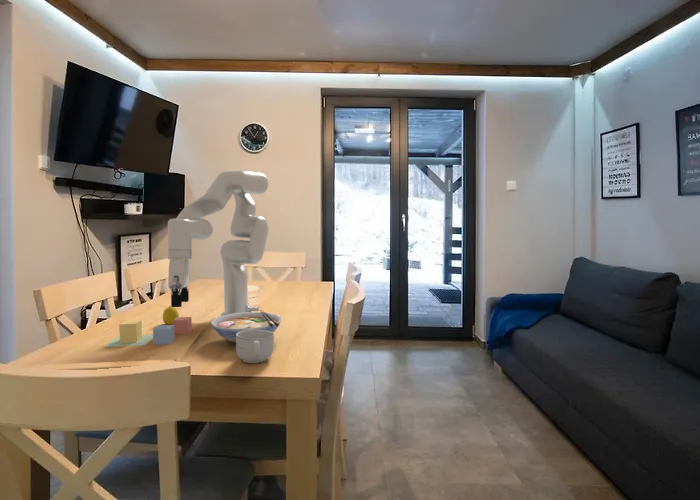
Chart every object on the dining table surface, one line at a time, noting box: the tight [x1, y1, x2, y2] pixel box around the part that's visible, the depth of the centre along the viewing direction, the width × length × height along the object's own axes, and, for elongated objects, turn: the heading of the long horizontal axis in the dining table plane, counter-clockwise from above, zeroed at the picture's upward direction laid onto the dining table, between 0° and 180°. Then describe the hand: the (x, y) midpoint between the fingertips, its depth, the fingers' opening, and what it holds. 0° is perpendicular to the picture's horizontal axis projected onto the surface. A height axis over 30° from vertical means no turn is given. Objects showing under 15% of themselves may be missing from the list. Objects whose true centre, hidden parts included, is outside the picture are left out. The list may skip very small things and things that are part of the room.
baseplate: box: [103, 334, 153, 348], centre depth 136 cm, size 12×12×1 cm
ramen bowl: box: [210, 309, 282, 343], centre depth 139 cm, size 25×23×8 cm
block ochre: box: [118, 319, 143, 343], centre depth 136 cm, size 5×5×6 cm
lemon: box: [162, 305, 180, 325], centre depth 156 cm, size 6×6×8 cm
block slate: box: [152, 324, 175, 345], centre depth 134 cm, size 5×5×6 cm
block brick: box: [173, 316, 193, 335], centre depth 146 cm, size 5×5×6 cm
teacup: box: [235, 330, 275, 364], centre depth 119 cm, size 14×11×8 cm
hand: (180, 304), depth 144 cm, fingers open, 9 cm apart
